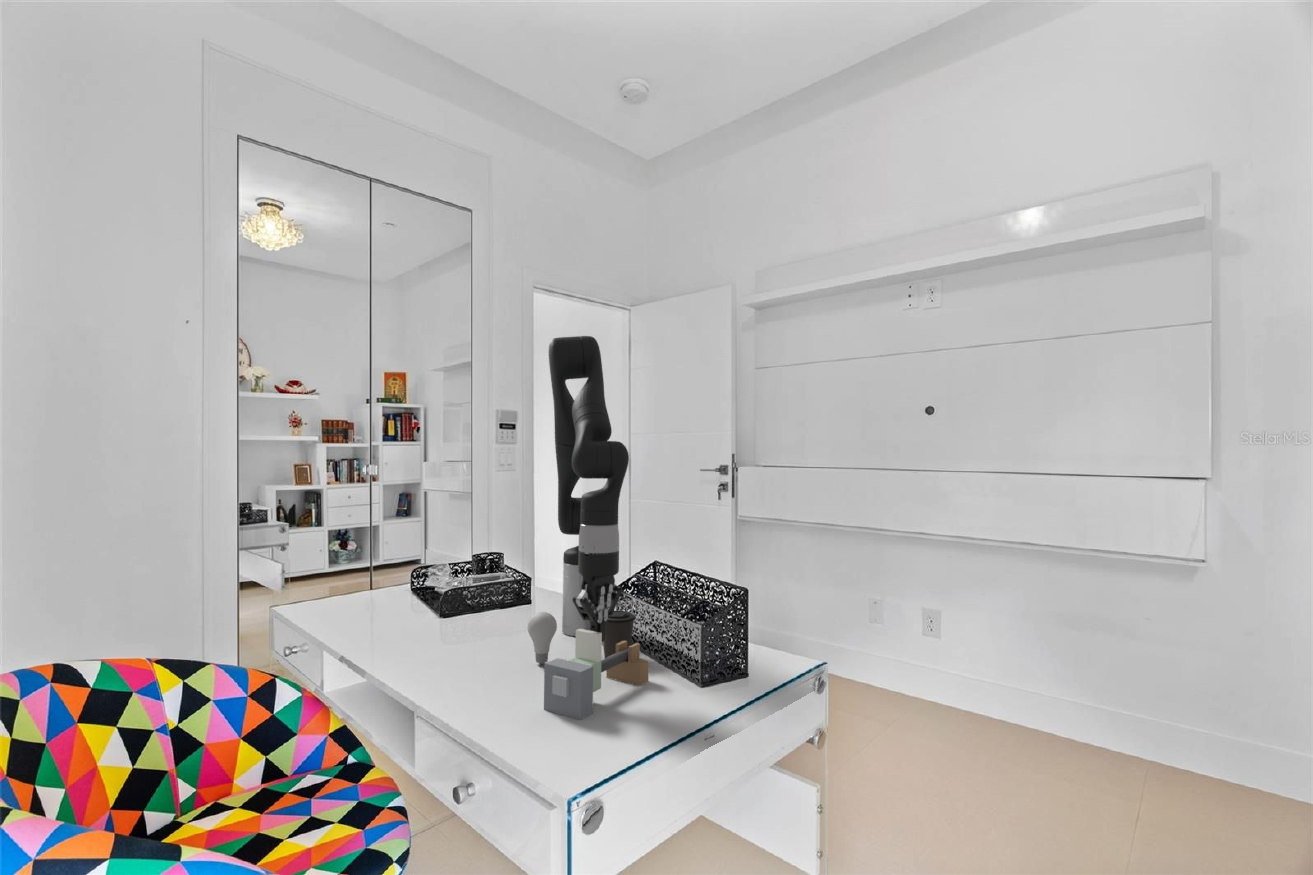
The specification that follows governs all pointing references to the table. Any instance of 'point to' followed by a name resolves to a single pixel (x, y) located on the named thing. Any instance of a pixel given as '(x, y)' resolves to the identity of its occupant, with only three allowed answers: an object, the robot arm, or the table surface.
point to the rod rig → (589, 680)
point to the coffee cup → (617, 631)
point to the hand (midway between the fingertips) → (597, 641)
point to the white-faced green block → (589, 653)
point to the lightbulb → (542, 634)
